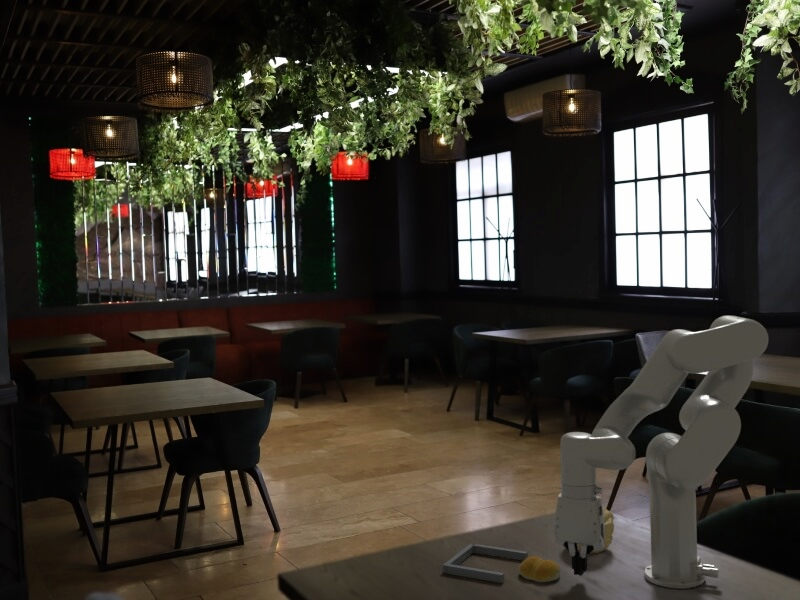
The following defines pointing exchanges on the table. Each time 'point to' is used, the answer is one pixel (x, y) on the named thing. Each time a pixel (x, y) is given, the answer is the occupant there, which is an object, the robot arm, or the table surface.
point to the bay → (454, 569)
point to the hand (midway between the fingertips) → (579, 573)
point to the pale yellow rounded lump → (606, 530)
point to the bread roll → (539, 569)
